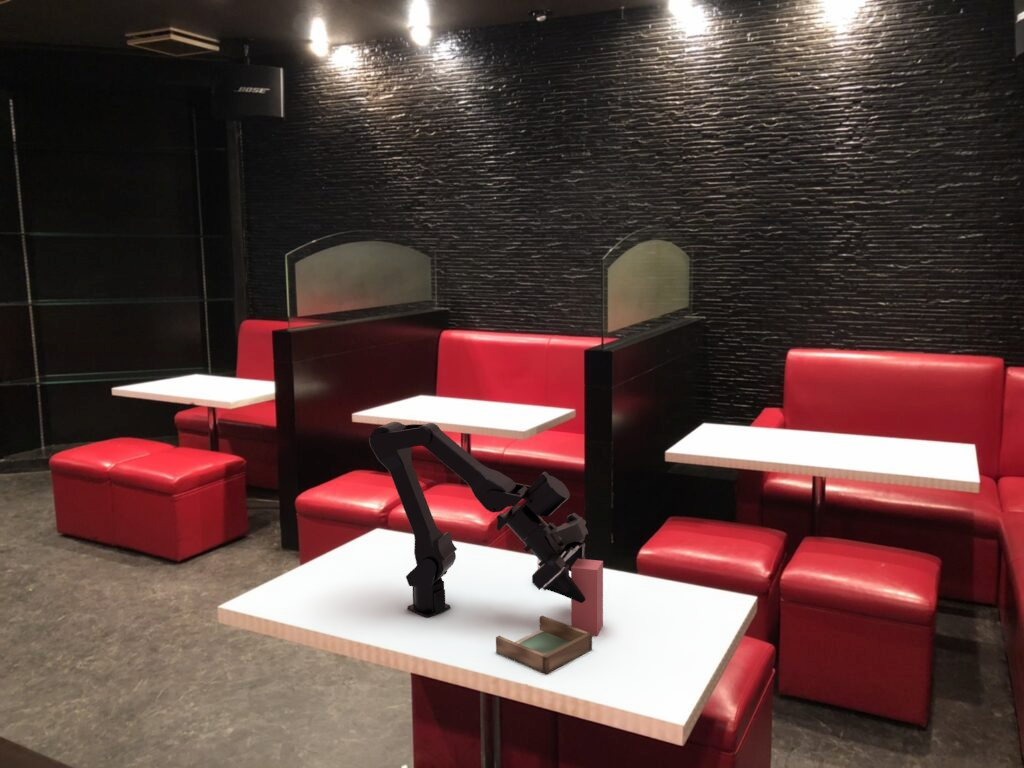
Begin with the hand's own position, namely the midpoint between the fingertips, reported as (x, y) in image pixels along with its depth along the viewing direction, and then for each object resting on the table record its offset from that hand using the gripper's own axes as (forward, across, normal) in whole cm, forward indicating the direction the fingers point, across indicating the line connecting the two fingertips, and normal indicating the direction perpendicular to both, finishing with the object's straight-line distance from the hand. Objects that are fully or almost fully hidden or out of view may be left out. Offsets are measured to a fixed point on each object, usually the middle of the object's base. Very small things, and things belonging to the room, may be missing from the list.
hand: (589, 592), depth 160 cm
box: (+1, -11, +9) cm, 15 cm away
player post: (+5, 0, +6) cm, 8 cm away
